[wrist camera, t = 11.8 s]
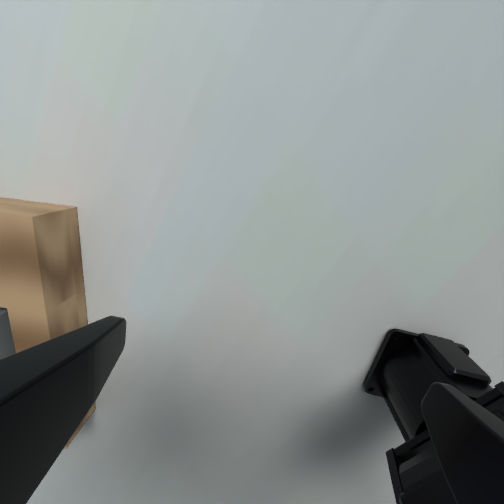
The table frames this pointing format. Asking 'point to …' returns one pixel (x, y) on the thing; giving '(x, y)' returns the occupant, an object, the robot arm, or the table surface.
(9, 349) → the gray square post
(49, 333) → the wooden block with hole
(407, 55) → the table surface
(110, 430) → the table surface
